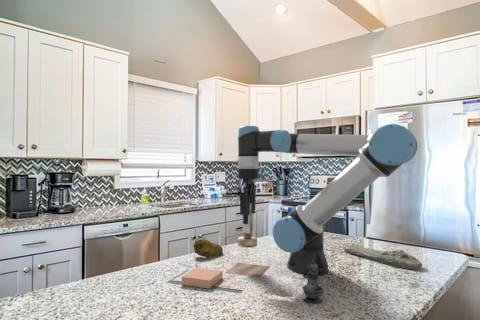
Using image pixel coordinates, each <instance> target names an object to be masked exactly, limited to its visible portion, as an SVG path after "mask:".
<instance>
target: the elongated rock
mask: <svg viewBox="0 0 480 320" xmlns="http://www.w3.org/2000/svg"><path fill="white" fill-rule="evenodd" d="M343 250H344V252H345V253H348V254H351V255H354V256H356V257H359V258H363V259H366V260H370V261H373V262H379V263H382V264H384V265H388V266H393V267H396V268H399V269H401V268H403V269H410V270H419V269H421V268H423V263H422V262H421V261H419V259H417V258H416V257H415V256H413V255H411V254H408V253H406V252H405V251H404V250H403V249H399V250H398V249H397V250H394V249H392V250H377V249H373V248H368V247H364V246H361V245H360V246H359V245H356V244H347V245H344V249H343Z"/></svg>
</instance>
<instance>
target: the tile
mask: <svg viewBox="0 0 480 320" xmlns="http://www.w3.org/2000/svg"><path fill="white" fill-rule="evenodd" d="M222 279H223V270H219V269H218V270H217V269H208V268H203V267H196V268H193V269H192V270H191V271H189V272H186V274H185V273H184V274H183V275H181V282H182V284H183V285H182V286H188V287H195V288H202V289H208V290H211V289H210V288H211V287H212V286H215V285H216V284H217V283H219V282H220V281H221V280H222Z"/></svg>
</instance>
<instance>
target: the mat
mask: <svg viewBox="0 0 480 320" xmlns="http://www.w3.org/2000/svg"><path fill="white" fill-rule="evenodd" d="M188 271H189V269H187V270H185V271H183V272H181V273H180V274H178V275H176V276H175V277H173V278H172V279H169V280H168V281H166V284H172V285H180V286H181V285H182V286H184V285H183V284H182V281H178V280H176V279H177V278H179V277H180V276H183V275H185V273H188ZM189 272H190V271H189ZM209 290H215V291H222V292H230V293H236V294H241V293H243V291H244V290H243V289H237V288H229V287H222V286H215V285H213V286H212V287H211V288H210V289H209Z"/></svg>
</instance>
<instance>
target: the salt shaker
mask: <svg viewBox="0 0 480 320" xmlns="http://www.w3.org/2000/svg"><path fill="white" fill-rule="evenodd" d="M306 277H307V281H306V282H307V283H306V284H305V285H303V286H302V290H303V293H304V295H305V297H304V298H303V302H304V303H306V304H309V305H319V304H322V302H323V299H321V298H320V297H321V296H322V295H323V294H322V293H323V291H324V288H323V287H322V286H320V285H319V277H320V276H319V275H318V265H317V264H316V263H314V260H313V259H312V262H311V263H309V264H308V274H307V276H306Z"/></svg>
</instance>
